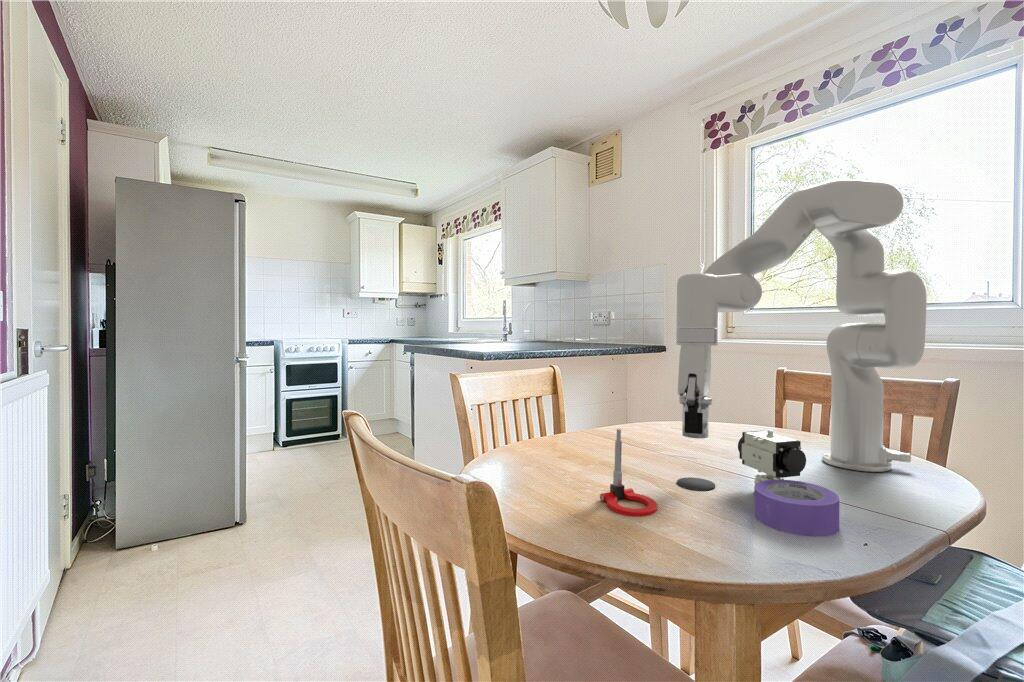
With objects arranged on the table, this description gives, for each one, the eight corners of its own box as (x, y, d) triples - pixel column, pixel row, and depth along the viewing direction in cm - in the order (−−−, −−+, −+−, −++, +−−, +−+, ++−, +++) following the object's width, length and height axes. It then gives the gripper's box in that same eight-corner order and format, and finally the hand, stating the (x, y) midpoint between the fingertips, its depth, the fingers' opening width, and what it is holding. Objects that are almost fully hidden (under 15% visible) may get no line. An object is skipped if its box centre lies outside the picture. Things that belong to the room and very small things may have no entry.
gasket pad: (717, 482, 96) (717, 480, 96) (713, 492, 90) (713, 491, 90) (680, 477, 99) (680, 475, 99) (674, 487, 93) (674, 485, 93)
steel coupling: (713, 434, 95) (713, 396, 95) (709, 440, 90) (710, 400, 90) (681, 431, 98) (682, 394, 98) (676, 436, 93) (676, 398, 93)
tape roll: (796, 542, 70) (797, 508, 70) (737, 512, 81) (738, 482, 81) (858, 532, 73) (858, 499, 73) (793, 504, 84) (793, 476, 84)
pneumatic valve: (756, 483, 95) (757, 423, 95) (806, 505, 84) (807, 436, 83) (732, 486, 94) (733, 425, 93) (780, 508, 82) (781, 438, 82)
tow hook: (667, 514, 81) (633, 494, 90) (670, 439, 80) (635, 426, 89) (626, 522, 78) (595, 501, 86) (628, 444, 77) (596, 430, 85)
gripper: (683, 336, 103) (682, 421, 103) (668, 338, 88) (667, 437, 89) (721, 337, 99) (720, 424, 100) (712, 338, 84) (711, 441, 85)
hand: (695, 429), depth 94 cm, fingers closed on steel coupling, 4 cm apart
